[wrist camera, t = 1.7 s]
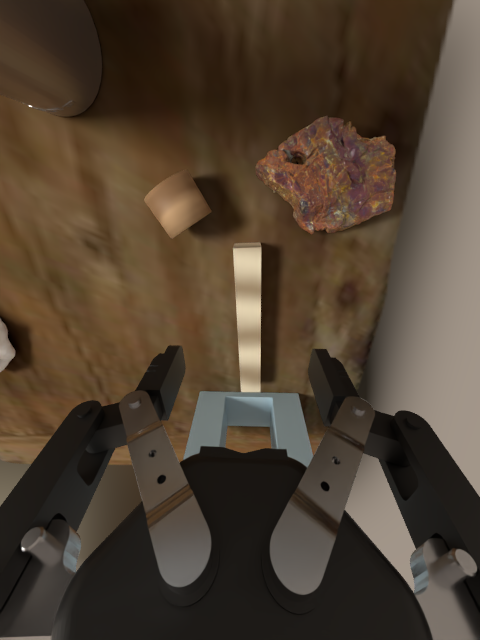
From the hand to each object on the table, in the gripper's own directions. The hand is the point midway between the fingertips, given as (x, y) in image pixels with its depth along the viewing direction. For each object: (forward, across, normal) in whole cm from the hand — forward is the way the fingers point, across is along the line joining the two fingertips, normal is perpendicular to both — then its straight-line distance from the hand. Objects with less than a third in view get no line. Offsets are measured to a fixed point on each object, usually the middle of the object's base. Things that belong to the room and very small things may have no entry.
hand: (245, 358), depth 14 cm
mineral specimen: (+16, -7, -9) cm, 20 cm away
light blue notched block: (+16, 0, +25) cm, 30 cm away
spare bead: (+16, +7, -8) cm, 19 cm away
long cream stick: (+16, 0, +7) cm, 18 cm away
